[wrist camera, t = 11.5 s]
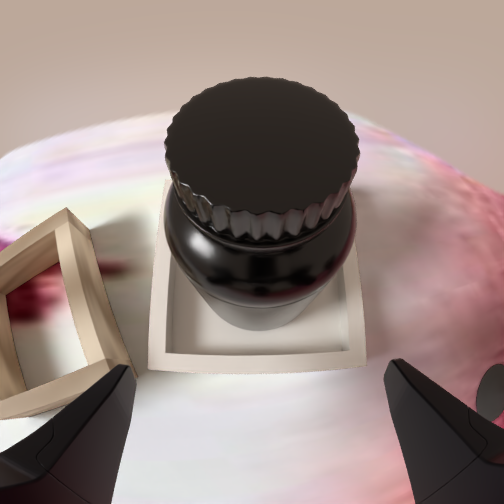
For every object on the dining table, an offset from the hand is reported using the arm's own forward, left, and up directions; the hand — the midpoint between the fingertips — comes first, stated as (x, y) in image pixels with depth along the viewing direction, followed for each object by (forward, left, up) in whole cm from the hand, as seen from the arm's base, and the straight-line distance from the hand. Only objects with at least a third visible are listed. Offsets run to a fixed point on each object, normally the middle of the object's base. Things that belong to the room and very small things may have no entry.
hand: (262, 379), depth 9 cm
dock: (+2, -5, -8) cm, 10 cm away
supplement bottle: (+2, -5, -7) cm, 9 cm away
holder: (+14, +5, -8) cm, 17 cm away
